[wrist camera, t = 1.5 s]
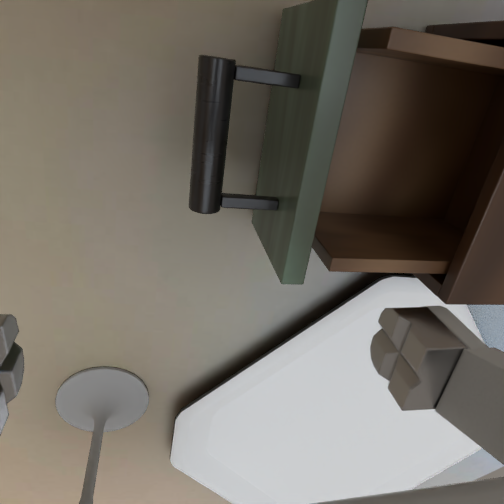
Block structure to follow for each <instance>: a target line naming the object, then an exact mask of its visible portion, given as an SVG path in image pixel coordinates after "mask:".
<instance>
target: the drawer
mask: <svg viewBox="0 0 504 504" xmlns="http://www.w3.org/2000/svg"><path fill="white" fill-rule="evenodd" d="M367 2H368V0H314V1H310V2H307V3H303V4H300V5H296V6H292V7H289V8H285V9H283V13H282V20H281V26H280V33H279V40H278V47H277V54H276V60H275V67H274V70H268V69H261V68H254V67H247V66H240V65H235V64H236V61H235V60H233V59H228V58H221V57H215V56H208V55H199V62H198V76H197V91H196V106H195V121H194V135H193V150H192V165H191V180H190V194H189V208H190V209H191V210H192V211H194V212H197V213H202V214H213V213H217V212H219V210H220V205H221V207H224V208H241V209H254V210H253V217H252V224H253V226H254V228H255V230H256V232H257V234H258V236H259V238H260V241H261V243H262V245H263V247H264V249H265V251H266V253H267V255H268V257H269V259H270V261H271V263H272V266H273V268H274V270H275V272H276V274H277V276H278V278H279V280H280V282H281V284H303V283H304V278H305V274H306V270H307V265H308V261H309V257H310V252H311V248H313V249H314V251H315V252H316V254H317V255H318V256H319V258H320V259H321V261H322V262H323V263H324V265H325V266H326V268H327V269H328V270H329V271H338V272H384V273H429V274H447V272H448V270H449V268H450V265H451V263H452V260H453V258H454V256H455V253H456V251H457V248H458V246H459V243H460V241H461V239H462V236H463V234H464V231H465V229H466V227H467V224H468V222H469V219H470V217H471V215H472V212H473V210H474V207H475V205H476V202H477V200H478V198H479V195H480V193H481V190H482V188H483V186H484V183H485V181H486V178H487V176H488V174H489V171H490V169H491V166H492V164H493V161H494V159H495V157H496V154H497V152H498V149H499V147H500V145H501V142H502V140H503V137H504V47H499V46H494V45H488V44H483V43H478V42H472V41H467V40H462V39H456V38H451V37H445V36H440V35H435V34H429V33H424V32H419V31H413V30H408V29H403V28H397V27H381V28H366V29H362V24H363V20H364V15H365V11H366V7H367ZM234 79H235V80H238V81H245V82H252V83H259V84H267V85H272V88H271V94H270V101H269V108H268V115H267V122H266V128H265V135H264V142H263V149H262V156H261V162H260V169H259V176H258V183H257V190H256V195H242V194H227V193H222V186H223V177H224V168H225V158H226V149H227V139H228V130H229V121H230V111H231V102H232V92H233V83H234Z"/></svg>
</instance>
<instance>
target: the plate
mask: <svg viewBox="0 0 504 504" xmlns="http://www.w3.org/2000/svg"><path fill="white" fill-rule="evenodd" d="M422 306H443V307H445V308H447V309H448V310H449V311H451V312H452V313H453V314H454V315H455V316H456V317H457V318H458V319H459V320H460V321H461V322H462V323H463V324H464V325H465V326H466V327H467V328H469V329H470V330H471V331H472V332H473V333H474V334H475V335H476V336H477V337H478V338H479V339H480V340H481V341H482V342H483V343H484V341H483V339H482V337H481V335H480V332H479V330H478V328H477V326H476V324H475V322H474V320H473V317H472V315H471V313H470V311H469V309H468V307H467V305H447V304H445V303H444V302H442V301H441V300H440V299H439V298H438V296H436V295H435V294H434V293H432V292H431V291H430V290H429V289H428V288H427V287H426V286H425V285H424V284H423V283H422V282H421V281H420V280H419V279H418V278H416V277H415V276H403V275H388V276H384V277H381V278H379V279H377V280H375V281H374V282H372V283H371V284H369V285H368V286H366V287H365V288H363V289H362V290H360V291H359V292H357V293H356V294H354V295H353V296H351V297H350V298H348V299H347V300H345V301H344V302H342V303H341V304H339V305H338V306H336V307H335V308H333V309H332V310H330V311H329V312H327V313H326V314H324V315H323V316H321V317H320V318H318V319H317V320H315V321H314V322H312V323H311V324H309V325H308V326H306V327H305V328H303V329H301V330H300V331H298V332H297V333H295V334H294V335H292V336H291V337H289V338H288V339H286V340H285V341H283V342H282V343H280V344H279V345H277V346H276V347H274V348H273V349H271V350H270V351H268V352H267V353H265V354H264V355H262V356H261V357H259V358H258V359H256V360H255V361H253V362H252V363H250V364H249V365H247V366H246V367H244V368H243V369H241V370H239V371H238V372H236V373H235V374H233V375H232V376H230V377H229V378H227V379H226V380H224V381H223V382H221V383H220V384H218V385H217V386H215V387H214V388H212V389H211V390H209V391H208V392H206V393H205V394H203V395H202V396H200V397H199V398H197V399H196V400H194V401H193V402H191V403H190V404H188V405H187V406H185V407H184V408H182V409H181V410H180V412H179V413H178V415H177V416H176V418H175V423H174V431H173V438H172V445H171V452H170V461H171V463H172V465H173V466H174V467H175V468H177V469H178V470H180V471H181V472H183V473H185V474H186V475H188V476H189V477H191V478H193V479H194V480H196V481H197V482H199V483H200V484H202V485H204V486H205V487H207V488H208V489H210V490H212V491H213V492H215V493H216V494H218V495H220V496H221V497H223V498H224V499H226V500H227V501H229V502H231V503H232V504H311V503H318V502H325V501H333V500H340V499H347V498H354V497H362V496H369V495H376V494H383V493H390V492H398V491H405V490H411V489H413V488H414V487H416V486H418V485H420V484H421V483H423V482H425V481H427V480H428V479H430V478H432V477H433V476H435V475H437V474H439V473H440V472H442V471H444V470H446V469H447V468H449V467H451V466H453V465H454V464H456V463H458V462H460V461H461V460H463V459H465V458H467V457H468V456H470V455H472V454H473V453H475V452H477V451H479V450H480V449H482V447H480V446H479V445H478V444H477V443H475V442H474V441H473V440H471V439H470V438H469V437H468V436H466V435H465V434H464V433H462V432H461V431H460V430H459V429H457V428H456V427H455V426H453V425H452V424H451V423H450V422H448V421H447V420H446V419H444V418H443V417H442V416H441V415H439V414H438V413H437V412H435V409H427V410H409V411H402V410H401V408H400V407H399V405H398V404H397V402H396V401H395V399H394V398H393V396H392V395H391V393H390V391H389V390H388V382H389V381H388V380H387V379H385V378H384V377H382V376H381V375H379V374H378V373H377V371H376V369H375V368H374V366H373V363H372V360H371V353H370V346H371V342H372V339H373V336H374V335H375V334H376V333H377V332H378V331H379V330H380V329H381V327H380V325H379V323H378V320H379V317H380V314H381V312H382V311H383V310H384V309H385V308H405V307H422ZM484 344H485V343H484Z"/></svg>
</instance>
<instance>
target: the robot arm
mask: <svg viewBox="0 0 504 504" xmlns="http://www.w3.org/2000/svg"><path fill="white" fill-rule="evenodd" d="M378 323H379V325H380V327H381V329H380V330H379V331H378V332H377V333H376V334H375V335H374V336H373V339H372V342H371V346H370V353H371V360H372V363H373V366H374V368H375V369H376V371H377V373H378V374H379V375H381V376H382V377H384V378H385V379H387V380H388V381H389V382H388V390H389V391H390V393H391V395H392V396H393V398H394V399H395V401H396V402H397V404H398V405H399V407H400V408H401V410H402V411H409V410H427V409H435V412H437V413H438V414H439V415H441V416H442V417H443V418H444V419H446V420H447V421H448V422H450V423H451V424H452V425H453V426H455V427H456V428H457V429H459V430H460V431H461V432H462V433H464V434H465V435H466V436H468V437H469V438H470V439H471V440H473V441H474V442H475V443H477V444H478V445H479V446H480V447H482V448H483V449H484V450H486V451H487V452H488V453H489V454H491V455H492V456H493V457H494V458H496V459H497V460H498V461H500V462H501V463H502V464H503V465H504V352H503V351H501V350H498V349H496V348H489V347H488V346H487V345H485V344H484V343H483V342H482V341H481V340H480V339H479V338H478V337H477V336H476V335H475V334H474V333H473V332H472V331H471V330H470V329H469V328H467V327H466V326H465V325H464V324H463V323H462V322H461V321H460V320H459V319H458V318H457V317H456V316H455V315H454V314H453V313H452V312H451V311H449V310H448V309H447V308H445V307H443V306H422V307H405V308H385V309H384V310H383V311H382V312H381V314H380V317H379V320H378ZM18 332H19V329H18V325H17V320H16V318H15V317H14V316H13V315H12V314H0V435H1V433H2V430H3V428H4V426H5V423H6V421H7V419H8V416H9V412H8V408H7V403H8V402H10V401H11V400H12V399H14V398H15V397H16V396H17V394H18V392H19V389H20V387H21V384H22V379H23V373H24V355H23V349H22V348H21V347H20V346H19V345H17V344H16V343H15V342H14V341H15V339H16V336H17V334H18ZM311 504H504V477H499V478H493V479H484V480H477V481H470V482H463V483H455V484H448V485H441V486H434V487H427V488H419V489H412V490H405V491H398V492H390V493H383V494H376V495H369V496H362V497H354V498H347V499H340V500H333V501H325V502H318V503H311Z"/></svg>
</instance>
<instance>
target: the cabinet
mask: <svg viewBox="0 0 504 504" xmlns="http://www.w3.org/2000/svg"><path fill="white" fill-rule="evenodd" d="M425 33H429V34H435V35H440V36H445V37H451V38H456V39H462V40H467V41H472V42H478V43H483V44H488V45H494V46H499V47H504V21H488V22H473V23H457V24H441V25H429V26H427V29H426V32H425ZM412 274H413V275H414V276H415V277H416V278H418V279H419V280H420V281H421V282H422V283H423V284H424V285H425V286H426V287H427V288H428V289H429V290H430V291H431V292H432V293H434V294H435V295H436V296H438V298H439V299H440V300H441V301H442V302H444V303H445V304H447V305H504V137H503V140H502V142H501V145H500V147H499V149H498V152H497V154H496V157H495V159H494V161H493V164H492V166H491V169H490V171H489V174H488V176H487V178H486V181H485V183H484V186H483V188H482V190H481V193H480V195H479V198H478V200H477V202H476V205H475V207H474V210H473V212H472V215H471V217H470V219H469V222H468V224H467V227H466V229H465V231H464V234H463V236H462V239H461V241H460V243H459V246H458V248H457V251H456V253H455V256H454V258H453V260H452V263H451V265H450V268H449V270H448V272H447V274H429V273H412Z"/></svg>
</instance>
